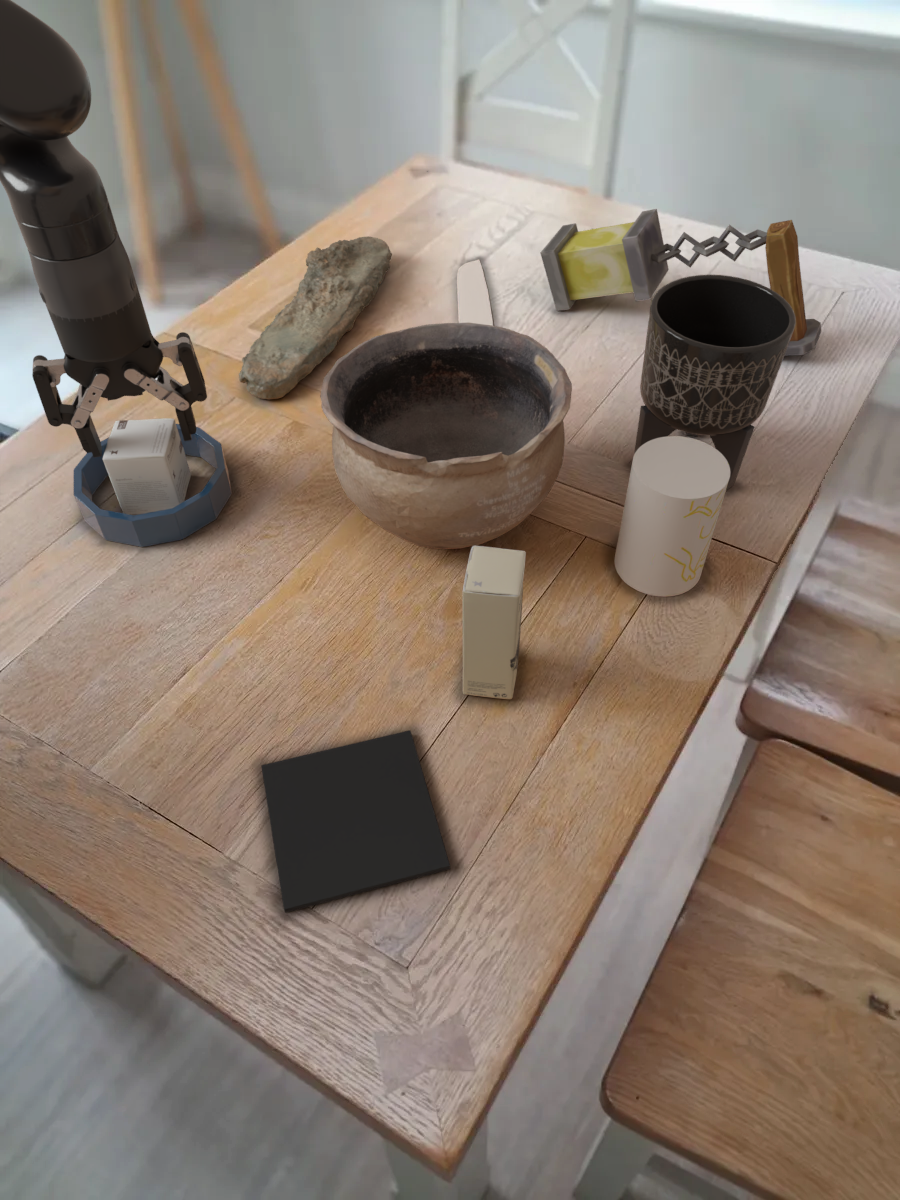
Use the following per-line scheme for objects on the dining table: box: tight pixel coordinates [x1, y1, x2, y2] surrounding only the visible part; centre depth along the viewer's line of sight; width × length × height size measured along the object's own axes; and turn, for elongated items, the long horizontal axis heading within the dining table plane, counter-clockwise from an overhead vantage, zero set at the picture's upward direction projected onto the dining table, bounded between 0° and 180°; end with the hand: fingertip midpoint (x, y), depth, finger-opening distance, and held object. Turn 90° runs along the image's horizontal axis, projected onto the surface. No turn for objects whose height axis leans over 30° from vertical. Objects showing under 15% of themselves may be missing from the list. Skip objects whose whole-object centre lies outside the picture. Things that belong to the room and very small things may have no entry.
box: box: [461, 545, 527, 700], centre depth 72 cm, size 5×4×13 cm
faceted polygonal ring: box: [73, 423, 233, 548], centre depth 91 cm, size 15×15×4 cm
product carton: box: [103, 417, 192, 515], centre depth 89 cm, size 6×6×7 cm
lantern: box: [540, 208, 822, 357], centre depth 109 cm, size 8×17×30 cm
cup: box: [613, 435, 730, 598], centre depth 81 cm, size 8×8×12 cm
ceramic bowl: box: [319, 322, 573, 550], centre depth 85 cm, size 22×22×15 cm
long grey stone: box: [238, 235, 393, 400], centre depth 112 cm, size 35×5×10 cm
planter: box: [633, 274, 796, 491], centre depth 88 cm, size 13×13×18 cm
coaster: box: [260, 729, 451, 913], centre depth 68 cm, size 12×12×1 cm
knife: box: [456, 258, 494, 326], centre depth 112 cm, size 1×34×5 cm
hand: (142, 443), depth 87 cm, fingers open, 8 cm apart
